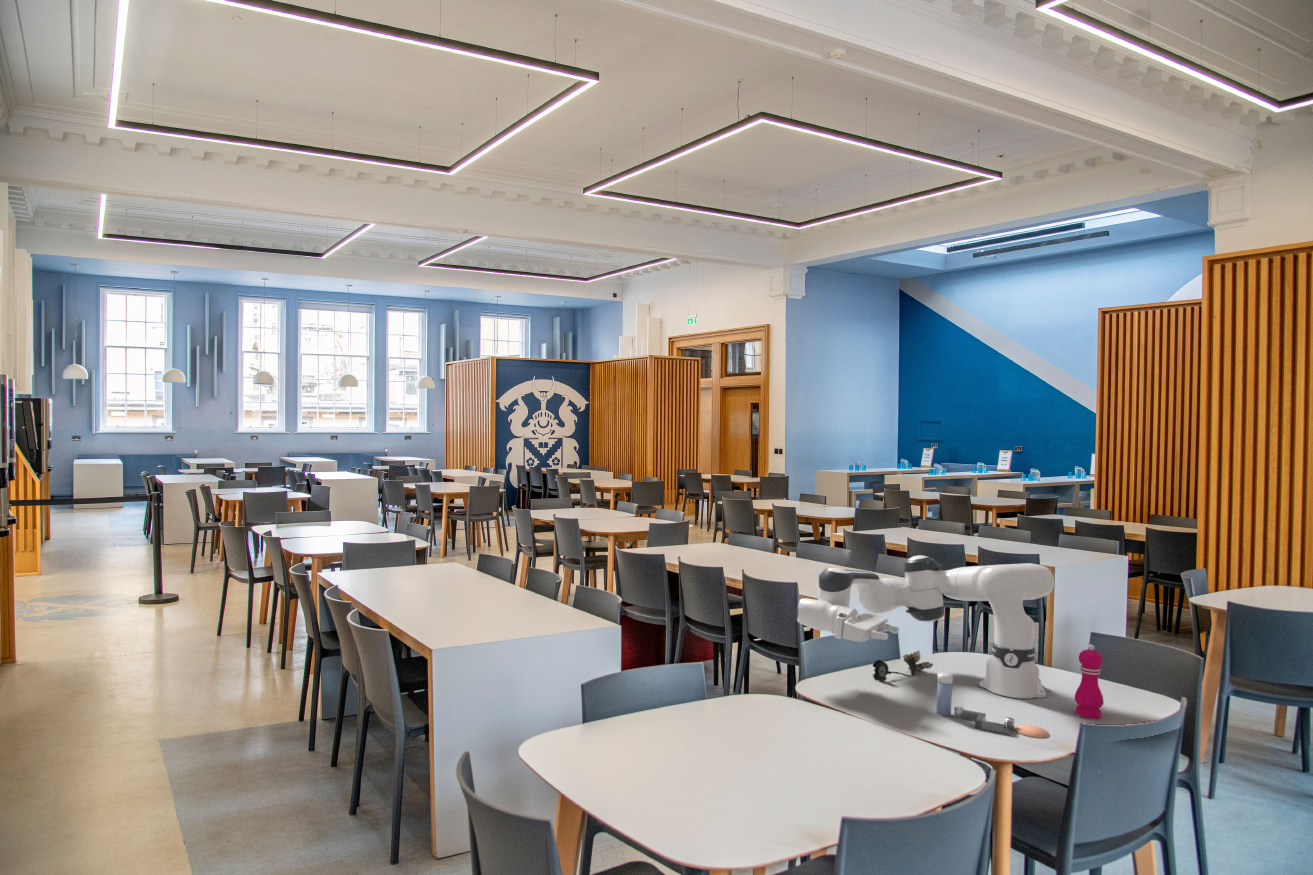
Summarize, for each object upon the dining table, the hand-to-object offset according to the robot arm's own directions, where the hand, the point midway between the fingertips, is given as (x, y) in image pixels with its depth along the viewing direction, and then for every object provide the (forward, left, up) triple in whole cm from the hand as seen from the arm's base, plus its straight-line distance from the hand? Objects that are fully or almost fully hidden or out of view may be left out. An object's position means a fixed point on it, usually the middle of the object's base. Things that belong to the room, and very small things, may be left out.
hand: (892, 633), depth 236 cm
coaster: (+2, +38, -20) cm, 42 cm away
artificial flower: (-28, -3, -20) cm, 35 cm away
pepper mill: (-22, +50, -20) cm, 58 cm away
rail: (+4, +26, -20) cm, 33 cm away
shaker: (+1, +15, -20) cm, 25 cm away
